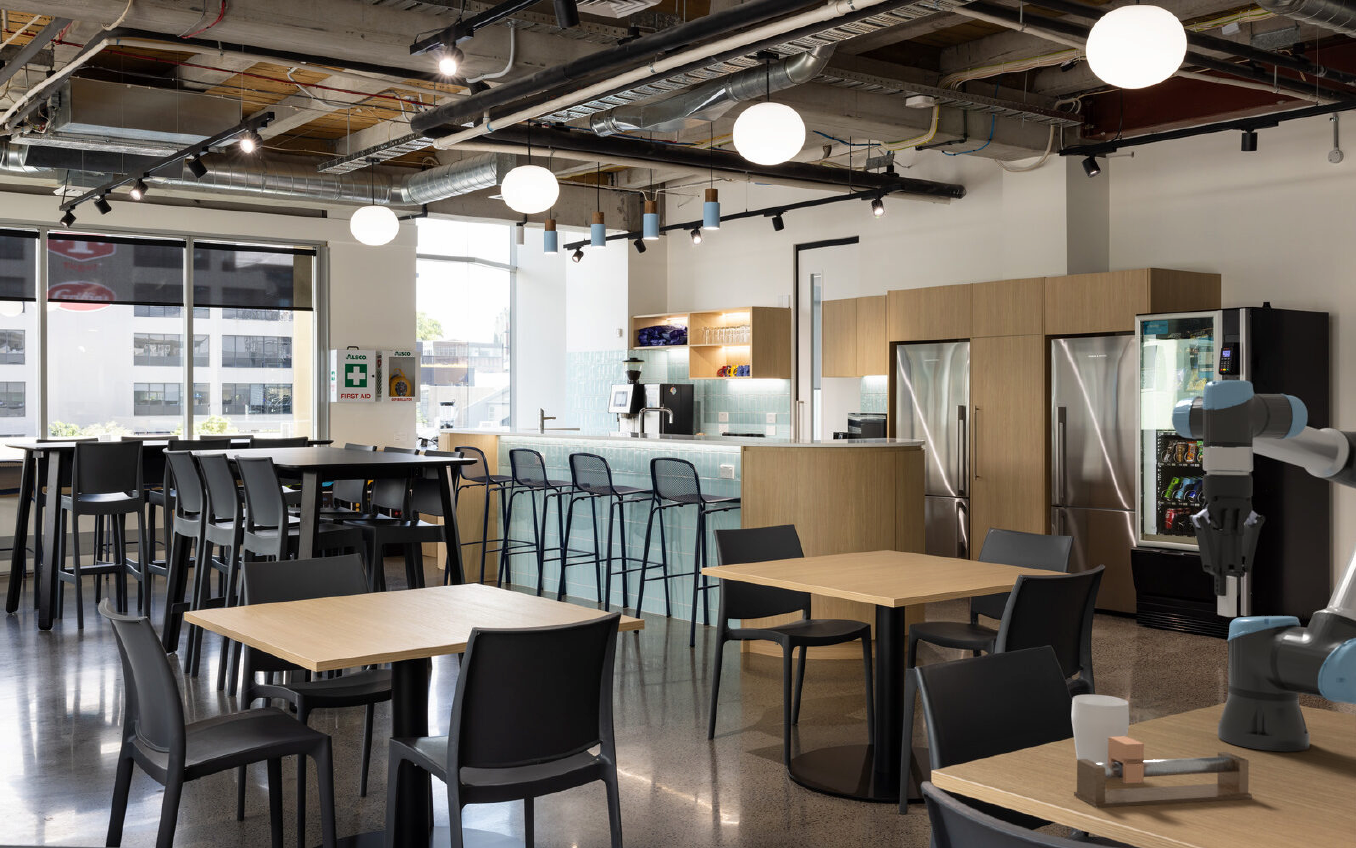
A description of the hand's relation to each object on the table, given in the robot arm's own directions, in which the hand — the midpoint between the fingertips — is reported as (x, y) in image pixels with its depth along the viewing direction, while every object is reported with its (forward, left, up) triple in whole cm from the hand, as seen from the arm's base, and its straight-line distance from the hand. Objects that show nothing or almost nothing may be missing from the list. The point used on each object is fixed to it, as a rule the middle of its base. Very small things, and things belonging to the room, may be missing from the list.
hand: (1227, 615), depth 191 cm
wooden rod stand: (+18, +9, -26) cm, 33 cm away
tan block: (+25, +9, -23) cm, 35 cm away
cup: (+20, -5, -27) cm, 34 cm away
